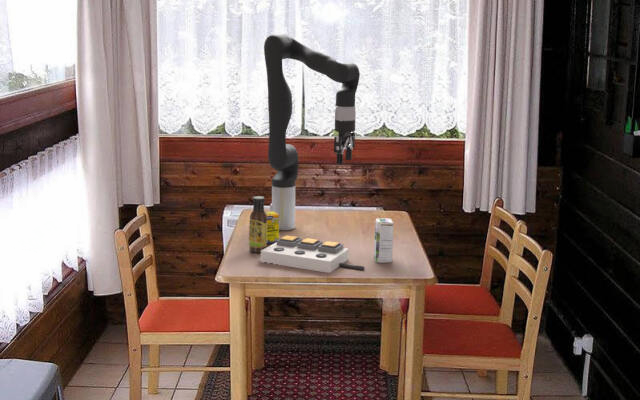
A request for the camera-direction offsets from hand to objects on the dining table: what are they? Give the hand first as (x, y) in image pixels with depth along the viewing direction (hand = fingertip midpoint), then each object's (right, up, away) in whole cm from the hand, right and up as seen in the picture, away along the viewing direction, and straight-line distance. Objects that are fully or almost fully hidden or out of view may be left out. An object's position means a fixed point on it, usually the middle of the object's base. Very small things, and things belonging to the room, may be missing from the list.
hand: (344, 162), depth 293 cm
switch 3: (-5, -31, -19) cm, 36 cm away
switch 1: (-20, -29, -12) cm, 37 cm away
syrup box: (+13, -35, -16) cm, 41 cm away
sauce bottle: (-31, -32, -7) cm, 46 cm away
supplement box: (-28, -30, +4) cm, 41 cm away
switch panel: (-10, -36, -20) cm, 42 cm away
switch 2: (-12, -30, -15) cm, 36 cm away
